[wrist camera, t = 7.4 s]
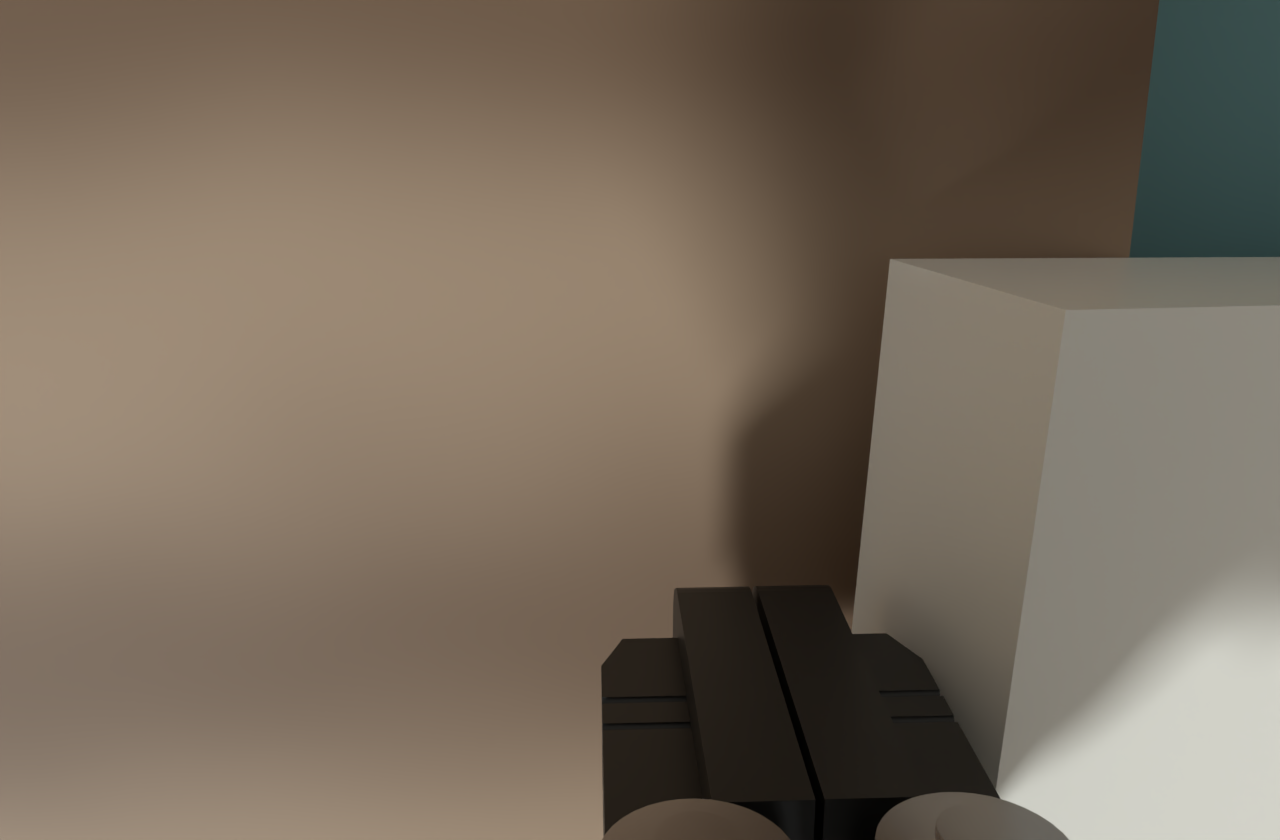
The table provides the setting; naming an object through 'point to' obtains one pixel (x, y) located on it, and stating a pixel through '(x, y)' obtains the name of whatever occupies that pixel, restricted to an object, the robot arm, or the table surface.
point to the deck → (464, 365)
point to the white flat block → (1089, 530)
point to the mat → (1211, 133)
